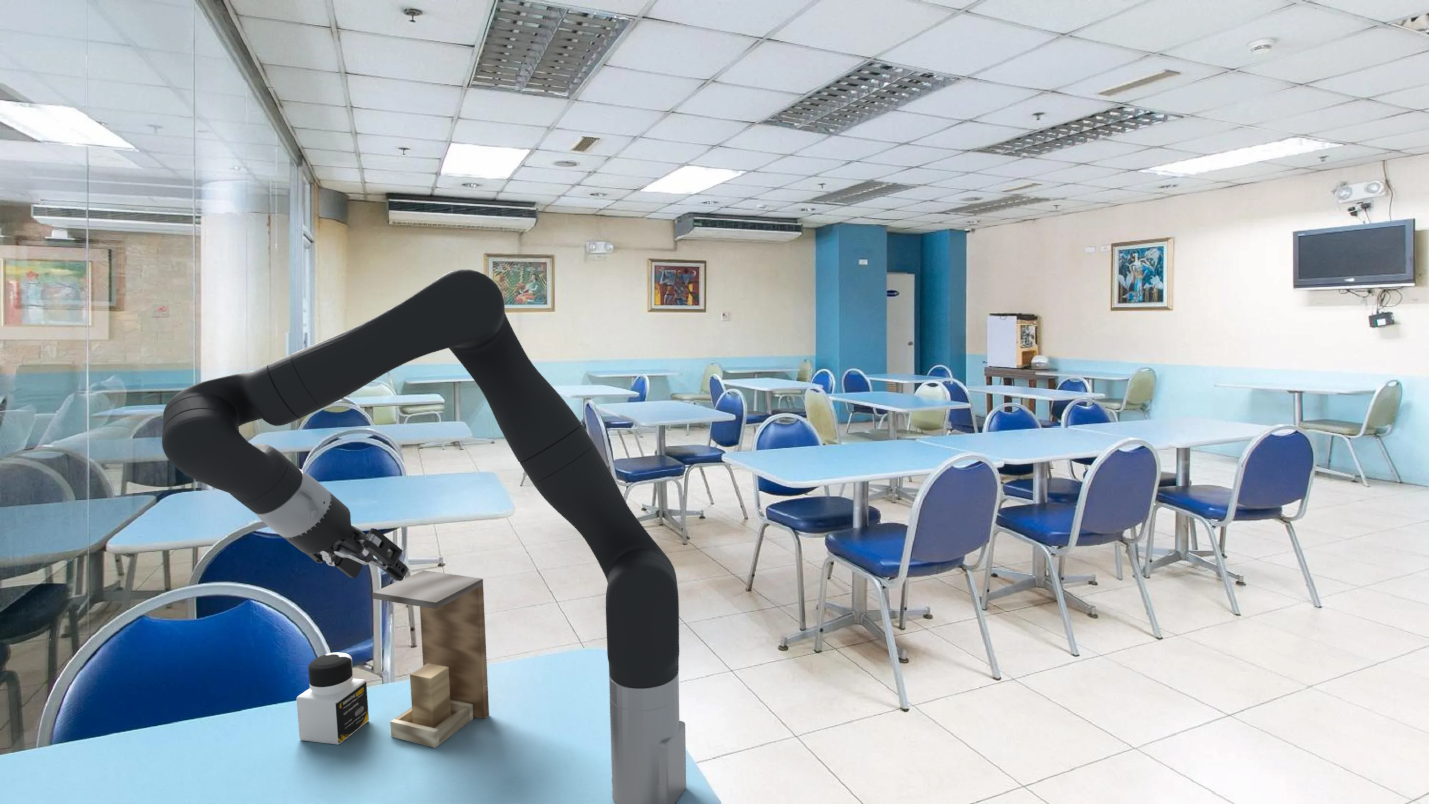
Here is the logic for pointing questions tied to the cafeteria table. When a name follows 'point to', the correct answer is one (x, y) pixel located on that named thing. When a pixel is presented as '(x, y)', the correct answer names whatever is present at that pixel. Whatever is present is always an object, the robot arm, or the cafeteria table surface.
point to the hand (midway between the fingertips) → (379, 573)
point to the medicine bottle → (332, 701)
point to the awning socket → (446, 647)
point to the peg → (430, 695)
